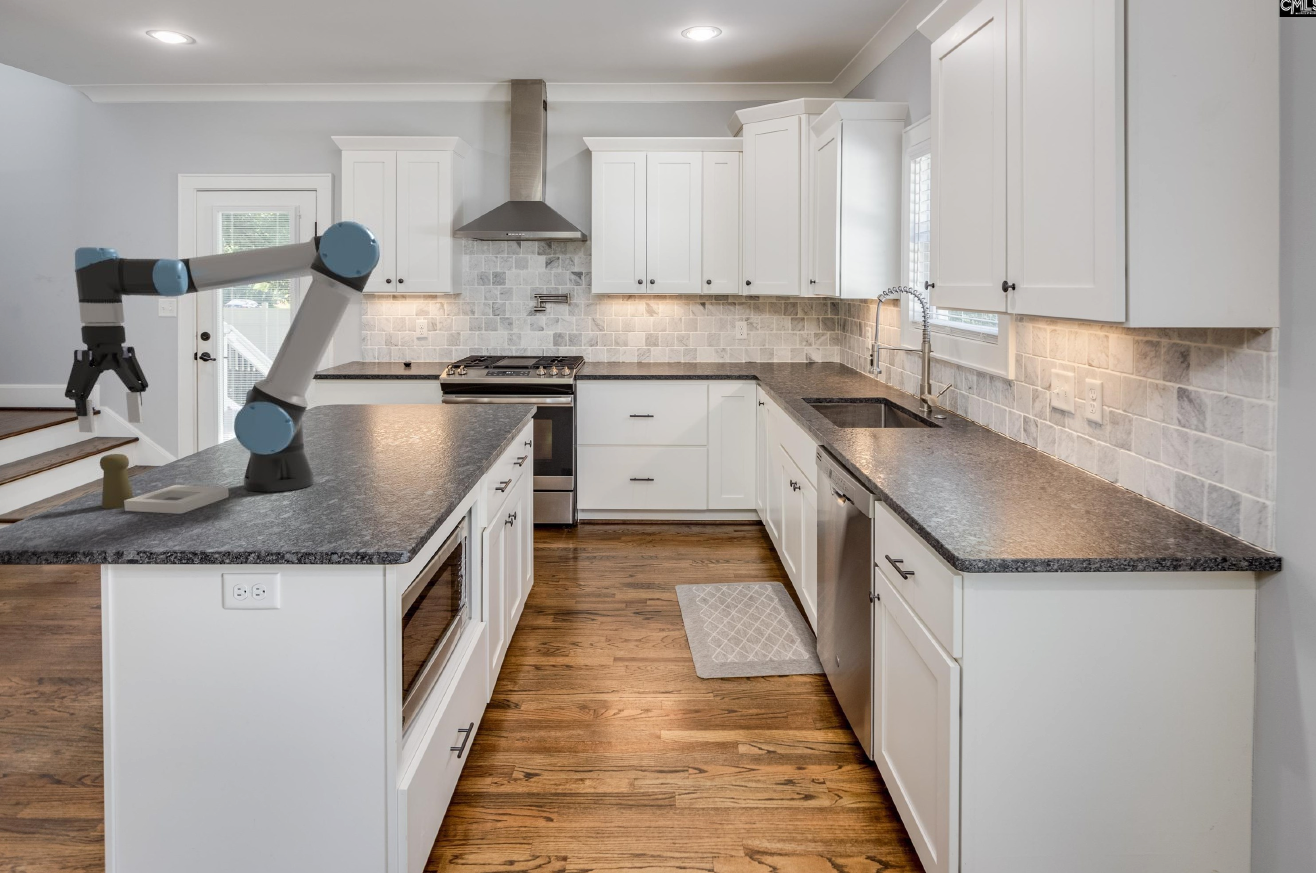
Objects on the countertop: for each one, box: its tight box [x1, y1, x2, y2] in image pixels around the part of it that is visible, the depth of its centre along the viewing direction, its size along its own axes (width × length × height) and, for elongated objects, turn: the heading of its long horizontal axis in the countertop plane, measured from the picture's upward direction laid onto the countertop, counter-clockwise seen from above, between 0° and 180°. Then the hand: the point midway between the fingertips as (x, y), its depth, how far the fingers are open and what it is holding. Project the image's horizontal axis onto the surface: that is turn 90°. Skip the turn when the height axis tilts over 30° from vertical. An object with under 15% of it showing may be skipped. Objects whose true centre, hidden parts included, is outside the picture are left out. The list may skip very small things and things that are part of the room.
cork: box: [99, 453, 134, 510], centre depth 180 cm, size 6×6×11 cm
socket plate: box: [124, 484, 229, 514], centre depth 183 cm, size 15×13×2 cm
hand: (112, 427), depth 177 cm, fingers open, 13 cm apart
